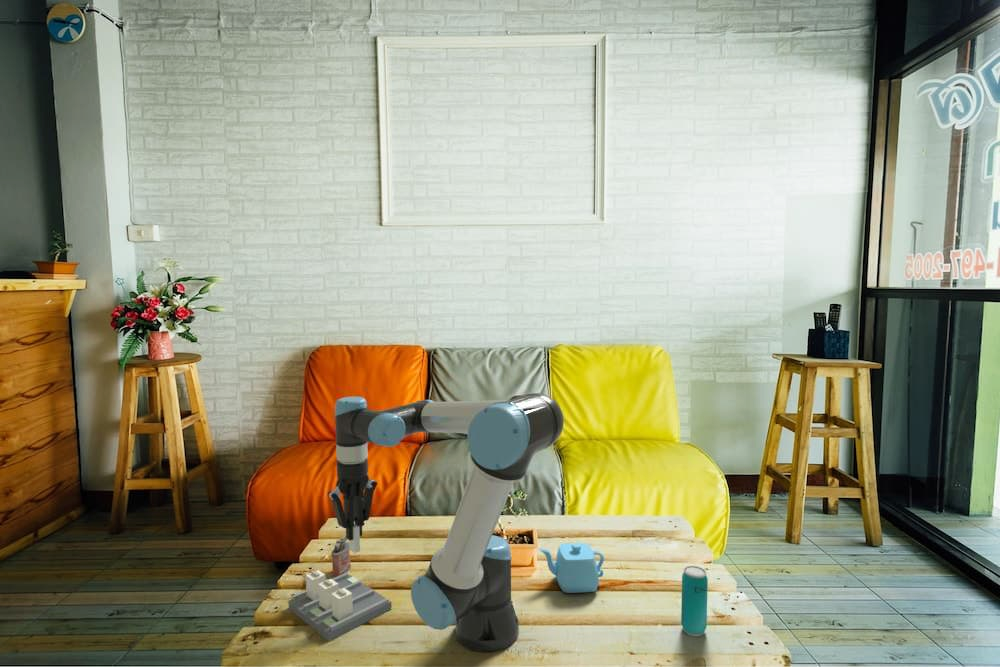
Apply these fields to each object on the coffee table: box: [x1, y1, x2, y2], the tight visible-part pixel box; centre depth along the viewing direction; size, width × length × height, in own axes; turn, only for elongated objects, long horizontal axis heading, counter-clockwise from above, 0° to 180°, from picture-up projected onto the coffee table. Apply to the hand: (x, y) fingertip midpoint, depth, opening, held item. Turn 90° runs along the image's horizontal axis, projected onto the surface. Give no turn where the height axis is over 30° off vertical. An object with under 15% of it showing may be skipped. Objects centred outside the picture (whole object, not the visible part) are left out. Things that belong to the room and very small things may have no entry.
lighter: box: [330, 535, 352, 579], centre depth 165 cm, size 8×3×10 cm, turn 168°
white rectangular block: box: [318, 578, 339, 611], centre depth 144 cm, size 4×4×6 cm
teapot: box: [538, 542, 605, 594], centre depth 157 cm, size 12×18×12 cm
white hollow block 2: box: [331, 588, 353, 621], centre depth 140 cm, size 4×4×6 cm
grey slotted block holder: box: [287, 572, 393, 642], centre depth 147 cm, size 20×18×3 cm
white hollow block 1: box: [305, 569, 327, 601], centre depth 149 cm, size 4×4×6 cm
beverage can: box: [680, 565, 709, 638], centre depth 135 cm, size 6×6×15 cm
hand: (354, 550), depth 143 cm, fingers closed
